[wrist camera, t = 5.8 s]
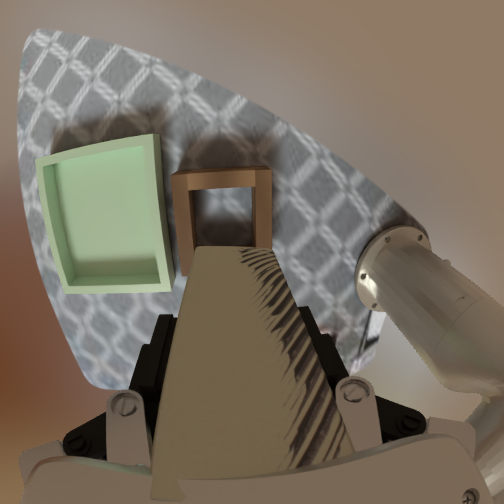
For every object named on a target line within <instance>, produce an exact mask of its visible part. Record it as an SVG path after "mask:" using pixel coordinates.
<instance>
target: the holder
mask: <svg viewBox="0 0 504 504" xmlns="http://www.w3.org/2000/svg"><path fill="white" fill-rule="evenodd" d="M234 187H252V227H253V245H242V246H236V247H254V248H269V249H272V170H271V169H270V168H268V167H267V166H249V167H225V168H209V169H195V170H183V171H176V172H175V173H173V174H172V175H171V188H172V199H173V209H174V218H175V227H176V235H177V243H178V251H179V259H180V266H181V272H182V276H188V274H189V271H190V267H191V263H192V259H193V256H194V252H195V249H196V247H198V244H197V234H196V223H195V212H194V200H193V190H201V189H216V188H234Z"/></svg>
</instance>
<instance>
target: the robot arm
mask: <svg viewBox="0 0 504 504" xmlns="http://www.w3.org/2000/svg"><path fill="white" fill-rule="evenodd" d="M354 284H355V290H356V293H357V295H358V297H359V299H360V300H361V302H362V303H363V304H364V305H365V306H366V307H367V308H369V309H371V310H373V311H378V312H386V313H387V315H388V316H389V317H390V318H391V319H392V321H393V322H394V323H395V325H396V326H397V327H398V328H399V330H400V331H401V332H402V333H403V335H404V336H405V337H406V339H407V340H408V341H409V342H410V344H411V345H412V346H413V348H414V349H415V350H416V352H417V353H418V354H419V356H420V357H421V358H422V360H423V361H424V362H425V364H426V365H427V366H428V368H429V369H430V370H431V372H432V373H433V374H434V376H435V377H436V379H437V380H438V381H439V382H440V383H441V384H442V385H443V386H444V387H446V388H447V389H449V390H452V391H455V392H464V393H478V394H480V395H482V397H483V399H482V402H481V403H480V404H479V406H478V407H477V408H476V409H475V410H474V412H473V413H472V414H471V415H470V416H469V417H468V418H467V419H466V420H465V421H464V422H460V421H453V420H446V419H440V418H435V417H429V419H426V418H425V417H424V416H423V415H422V414H421V413H420V412H419V411H416V410H414V409H411V408H408V407H405V406H403V405H400V404H397V403H395V402H392V401H389V400H387V399H384V398H381V397H379V396H376V395H375V393H374V389H373V386H372V385H371V383H370V382H369V381H367V380H366V379H364V378H361V377H356V376H351V377H349V374H348V372H347V370H346V368H345V366H344V364H343V362H342V360H341V357H340V355H339V353H338V351H337V349H336V347H335V345H334V343H333V341H332V339H331V337H330V335H329V334H328V333H327V334H321V333H320V331H319V329H318V326H317V324H316V322H315V320H314V318H313V315H312V313H311V311H310V309H309V307H308V306H304V307H298V310H299V312H300V314H301V317H302V319H303V322H304V323H305V326H306V328H307V331H308V334H309V336H310V338H311V340H312V343H313V347H314V349H315V351H316V353H317V355H318V358H319V361H320V364H321V367H322V369H323V371H324V373H325V375H326V378H327V381H328V384H329V386H330V389H331V391H332V393H333V396H334V398H335V401H336V404H337V406H338V408H339V411H340V413H341V415H342V418H343V421H344V424H345V426H346V428H347V431H348V433H349V436H350V438H351V441H352V443H353V446H354V448H355V451H356V452H354V453H351V454H348V455H345V456H342V457H339V458H335V459H332V460H328V461H325V462H321V463H317V464H312V465H308V466H304V467H299V468H295V469H290V470H285V471H279V472H274V473H268V474H261V475H254V476H245V477H235V478H221V479H177V481H178V484H179V486H180V488H181V490H182V491H183V493H184V494H185V496H186V498H185V499H184V500H183V501H182V502H168V501H156V500H151V499H150V491H151V486H152V479H153V476H152V475H151V474H150V466H151V456H152V448H153V441H154V434H155V428H156V422H157V416H158V410H159V405H160V399H161V394H162V389H163V383H164V378H165V373H166V369H167V364H168V359H169V354H170V350H171V345H172V340H173V336H174V331H175V327H176V322H177V318H174V317H173V315H172V314H160V315H159V317H158V320H157V323H156V326H155V329H154V332H153V336H152V339H151V342H150V344H144V345H143V346H142V348H141V351H140V354H139V357H138V360H137V363H136V366H135V370H134V373H133V376H132V379H131V383H130V386H129V390H121V391H118V392H116V393H114V394H113V395H112V396H110V398H109V399H108V401H107V405H106V412H105V413H103V414H101V415H99V416H97V417H96V418H94V419H92V420H90V421H88V422H87V423H85V424H83V425H81V426H79V427H77V428H75V429H74V430H72V431H70V432H69V433H68V434H66V436H65V437H64V440H63V441H62V442H59V440H56V441H53V442H50V443H47V444H44V445H41V446H38V447H35V448H31V449H28V450H25V451H23V452H22V453H21V455H20V457H19V466H20V471H21V474H22V478H23V482H24V485H25V487H24V490H23V494H22V498H21V502H20V504H504V307H503V306H502V305H501V304H499V303H498V302H497V301H496V300H494V299H493V298H492V297H490V295H488V294H487V293H486V292H485V291H483V290H482V289H481V288H480V287H478V286H477V285H476V284H475V283H473V282H472V281H471V280H469V279H468V278H467V277H466V276H464V275H463V274H462V273H460V272H459V271H457V270H456V269H455V268H453V267H452V266H451V264H450V261H449V260H442V259H441V258H439V257H438V256H437V255H435V254H434V253H432V250H431V246H430V243H429V240H428V238H427V237H426V236H425V234H424V233H423V232H421V231H420V230H419V229H417V228H415V227H413V226H409V225H397V226H393V227H390V228H388V229H386V230H384V231H383V232H381V233H380V234H378V235H377V236H376V237H375V238H374V239H373V240H372V241H371V242H370V243H369V244H368V246H367V247H366V248H365V250H364V251H363V253H362V255H361V257H360V259H359V261H358V264H357V267H356V271H355V280H354Z"/></svg>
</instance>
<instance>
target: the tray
mask: <svg viewBox="0 0 504 504" xmlns="http://www.w3.org/2000/svg"><path fill="white" fill-rule="evenodd" d="M35 162H36V172H37V180H38V187H39V194H40V200H41V206H42V211H43V216H44V221H45V226H46V230H47V235H48V239H49V243H50V247H51V251H52V254H53V258H54V262H55V265H56V268H57V272H58V275H59V278H60V281H61V284H62V287H63V290H64V293H65V294H94V293H141V292H169V291H172V288H173V285H174V281H175V272H174V265H173V259H172V252H171V245H170V237H169V230H168V222H167V213H166V204H165V194H164V183H163V171H162V158H161V141H160V134H147V135H140V136H134V137H128V138H122V139H116V140H111V141H106V142H101V143H96V144H92V145H87V146H83V147H79V148H75V149H71V150H67V151H63V152H59V153H56V154H52V155H49V156H45V157H42V158H39V159H36V160H35Z"/></svg>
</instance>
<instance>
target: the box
mask: <svg viewBox="0 0 504 504" xmlns="http://www.w3.org/2000/svg"><path fill="white" fill-rule="evenodd" d="M354 452H356V451H355V448H354V446H353V443H352V441H351V438H350V436H349V433H348V431H347V428H346V426H345V424H344V421H343V418H342V415H341V413H340V411H339V408H338V406H337V404H336V401H335V398H334V396H333V393H332V391H331V389H330V386H329V384H328V381H327V378H326V375H325V373H324V371H323V369H322V367H321V364H320V361H319V358H318V355H317V353H316V351H315V349H314V347H313V343H312V340H311V338H310V336H309V334H308V331H307V328H306V326H305V323H304V322H303V319H302V317H301V314H300V312H299V310H298V307H297V305H296V302H295V300H294V298H293V296H292V293H291V290H290V288H289V287H288V284H287V281H286V279H285V278H284V274H283V272H282V270H281V268H280V266H279V263H278V261H277V259H276V256H275V254H274V252H273V250H272V249H269V248H254V247H236V246H198V247H196V249H195V252H194V256H193V259H192V263H191V267H190V271H189V274H188V278H187V282H186V286H185V290H184V294H183V298H182V302H181V306H180V310H179V314H178V318H177V322H176V327H175V331H174V336H173V340H172V345H171V350H170V354H169V359H168V364H167V369H166V373H165V378H164V383H163V389H162V394H161V399H160V405H159V410H158V416H157V422H156V428H155V434H154V441H153V448H152V456H151V466H150V474H151V475H152V476H153V479H152V486H151V491H150V499H151V500H156V501H168V502H182V501H183V500H184V499H185V498H186V496H185V494H184V493H183V491H182V490H181V488H180V486H179V484H178V481H177V479H221V478H235V477H245V476H254V475H261V474H268V473H274V472H279V471H285V470H290V469H295V468H299V467H304V466H308V465H312V464H317V463H321V462H325V461H328V460H332V459H335V458H339V457H342V456H345V455H348V454H351V453H354Z"/></svg>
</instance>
